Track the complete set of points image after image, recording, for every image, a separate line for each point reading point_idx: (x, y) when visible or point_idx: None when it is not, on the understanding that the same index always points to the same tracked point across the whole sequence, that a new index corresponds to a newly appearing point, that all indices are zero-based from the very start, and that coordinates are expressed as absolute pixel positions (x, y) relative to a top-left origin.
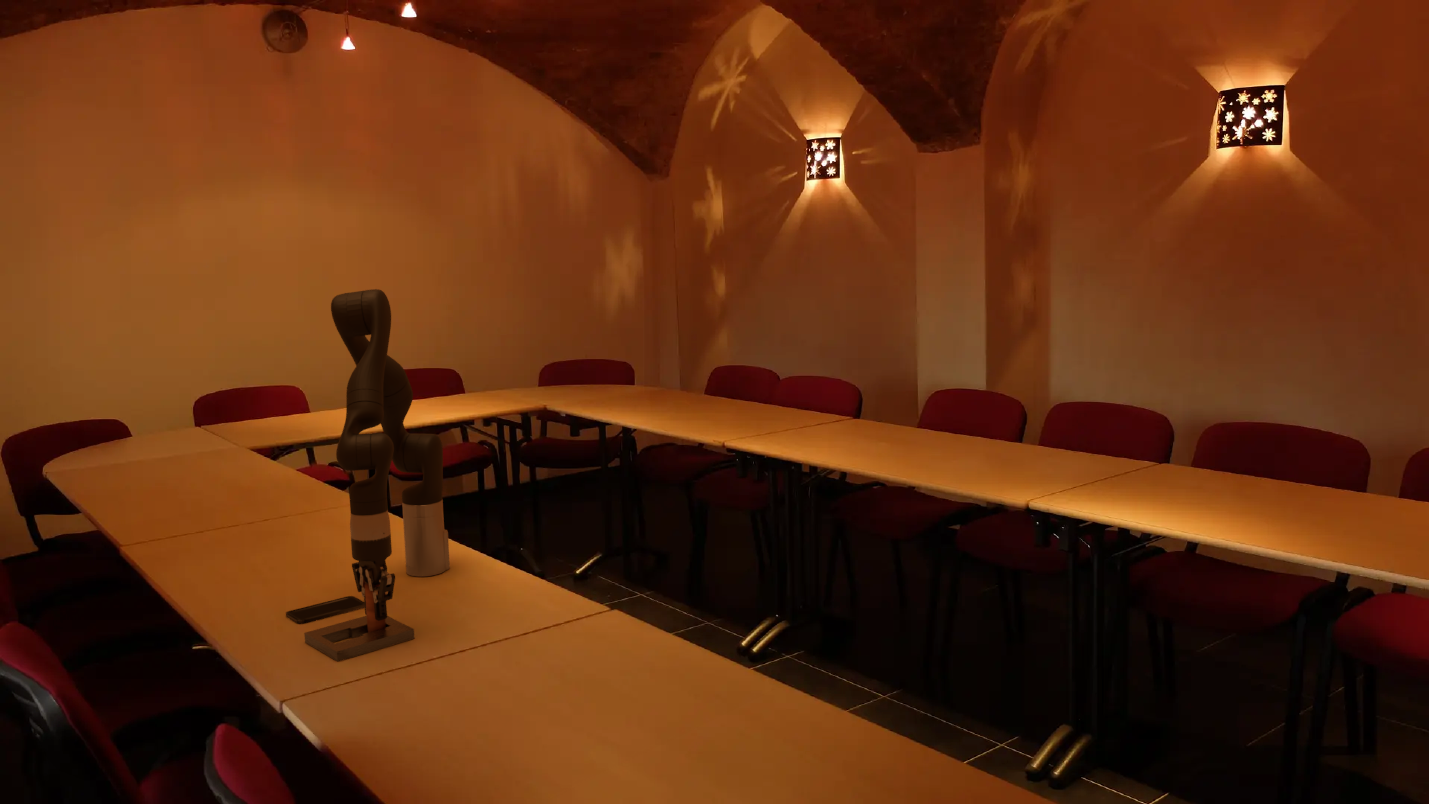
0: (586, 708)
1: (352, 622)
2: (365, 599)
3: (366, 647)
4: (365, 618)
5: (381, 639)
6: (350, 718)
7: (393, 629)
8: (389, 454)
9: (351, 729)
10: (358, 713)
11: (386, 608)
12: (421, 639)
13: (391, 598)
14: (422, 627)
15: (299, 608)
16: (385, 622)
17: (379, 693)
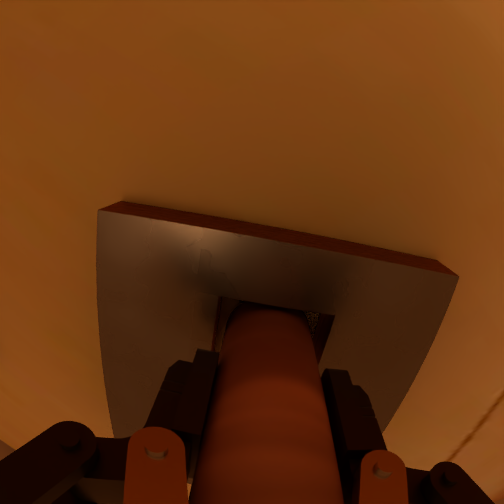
0: None
1: (134, 369)
2: (190, 471)
3: None
4: (127, 311)
5: (397, 405)
6: (484, 490)
7: (380, 334)
8: None
9: (494, 490)
10: (489, 483)
11: (359, 407)
12: (462, 248)
13: (456, 469)
14: (372, 137)
15: None
16: (302, 330)
17: (496, 457)
